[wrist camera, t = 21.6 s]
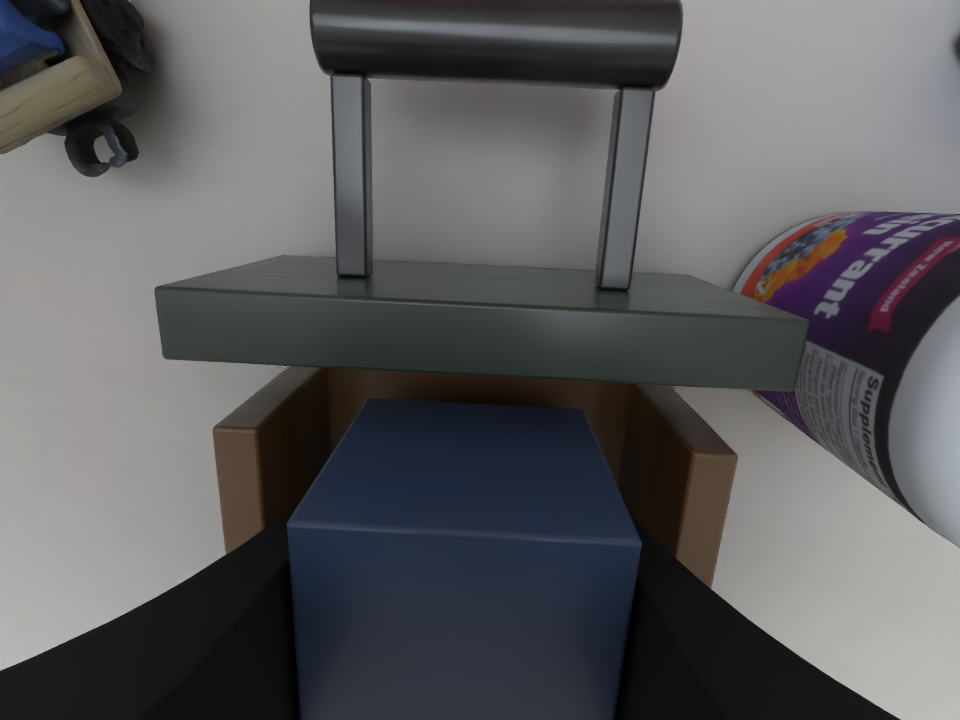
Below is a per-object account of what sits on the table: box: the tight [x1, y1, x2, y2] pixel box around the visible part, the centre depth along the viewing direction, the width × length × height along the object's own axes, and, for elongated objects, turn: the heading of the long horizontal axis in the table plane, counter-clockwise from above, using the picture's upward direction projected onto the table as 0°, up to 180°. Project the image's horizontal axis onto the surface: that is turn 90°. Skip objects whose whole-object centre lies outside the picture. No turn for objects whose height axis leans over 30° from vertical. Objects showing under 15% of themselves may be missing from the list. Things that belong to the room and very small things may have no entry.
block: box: [287, 398, 642, 720], centre depth 9 cm, size 4×4×4 cm
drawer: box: [154, 0, 810, 589], centre depth 12 cm, size 17×10×5 cm, turn 177°
